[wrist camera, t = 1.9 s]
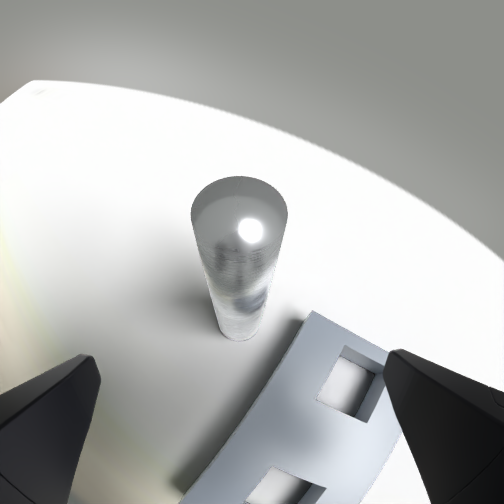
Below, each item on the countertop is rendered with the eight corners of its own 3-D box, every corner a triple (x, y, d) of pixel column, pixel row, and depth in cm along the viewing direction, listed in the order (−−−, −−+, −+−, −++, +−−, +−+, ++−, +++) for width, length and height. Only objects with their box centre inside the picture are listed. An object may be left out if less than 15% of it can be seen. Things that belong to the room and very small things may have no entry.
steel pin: (245, 349, 18) (254, 271, 7) (210, 326, 19) (171, 221, 8) (267, 315, 20) (303, 200, 9) (233, 294, 20) (227, 165, 9)
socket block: (304, 544, 10) (311, 558, 8) (183, 494, 12) (176, 506, 10) (408, 376, 17) (426, 372, 15) (303, 320, 19) (312, 310, 17)
